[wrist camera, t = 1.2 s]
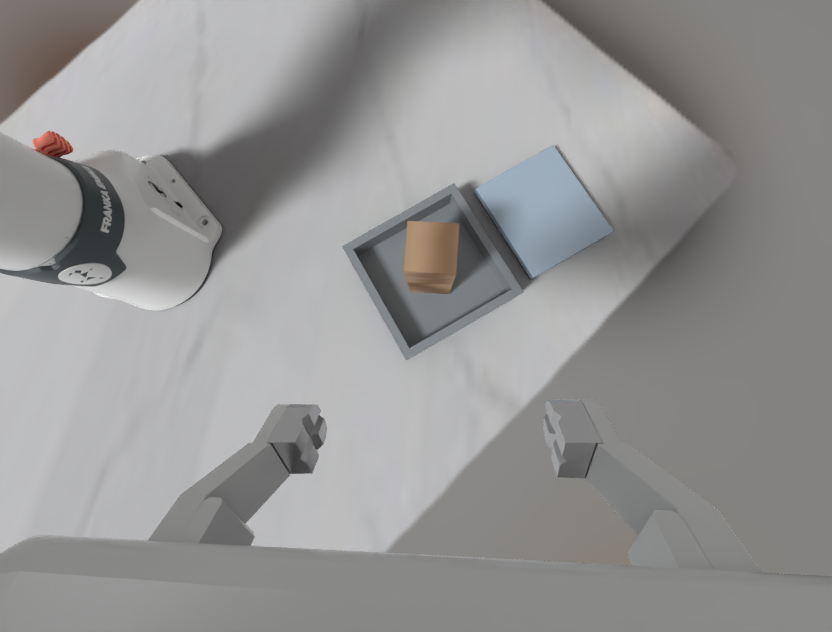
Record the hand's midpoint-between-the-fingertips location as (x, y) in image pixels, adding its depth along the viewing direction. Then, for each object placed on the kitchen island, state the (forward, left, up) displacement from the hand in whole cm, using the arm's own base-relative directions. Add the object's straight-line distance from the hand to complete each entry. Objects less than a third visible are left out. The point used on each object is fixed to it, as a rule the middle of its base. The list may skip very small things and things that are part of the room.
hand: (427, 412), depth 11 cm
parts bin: (-10, +6, -28) cm, 30 cm away
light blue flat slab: (-10, +23, -28) cm, 37 cm away
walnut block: (-10, +6, -27) cm, 29 cm away
